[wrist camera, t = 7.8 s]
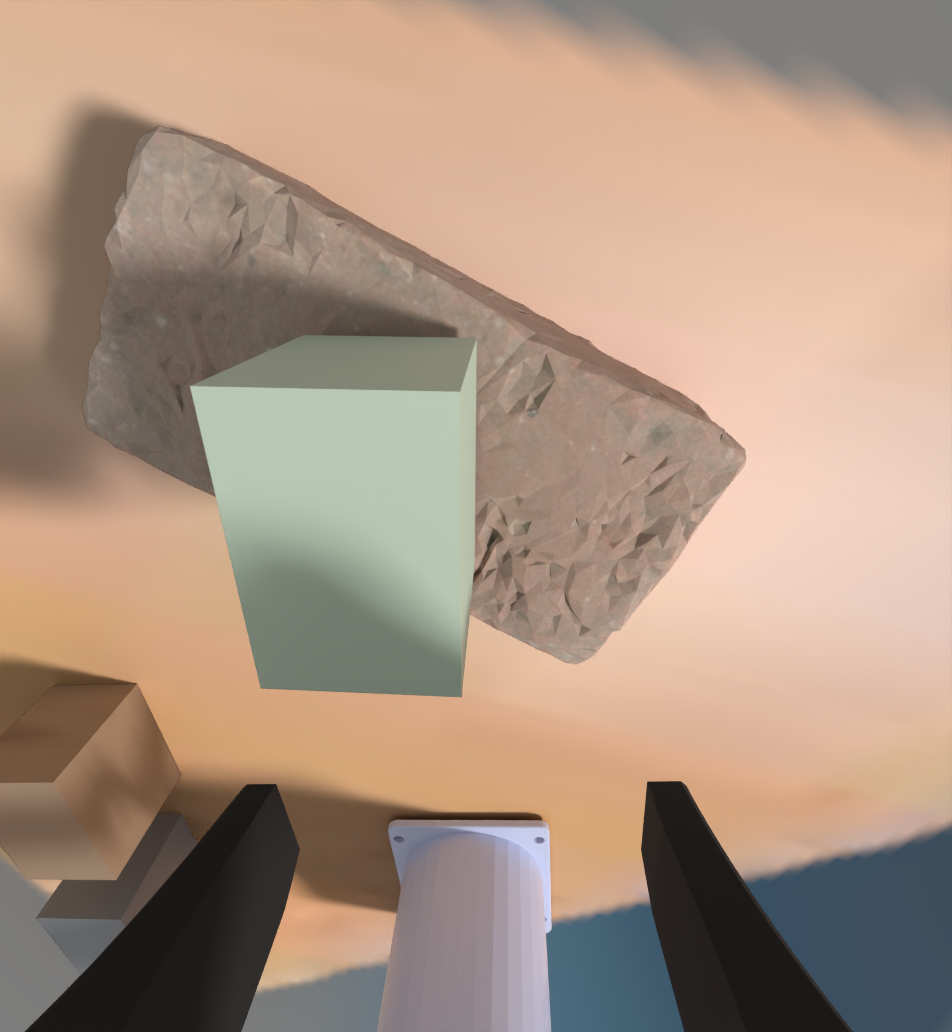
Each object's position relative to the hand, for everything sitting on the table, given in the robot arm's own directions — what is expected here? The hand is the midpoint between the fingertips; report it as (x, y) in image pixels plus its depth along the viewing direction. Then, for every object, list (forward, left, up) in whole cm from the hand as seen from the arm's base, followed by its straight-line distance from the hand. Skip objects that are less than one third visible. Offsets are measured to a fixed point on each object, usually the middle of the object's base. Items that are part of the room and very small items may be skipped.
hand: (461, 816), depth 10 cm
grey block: (-18, +19, -10) cm, 28 cm away
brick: (+5, +2, -11) cm, 12 cm away
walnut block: (-9, +18, -10) cm, 23 cm away
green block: (+5, +2, -6) cm, 8 cm away
